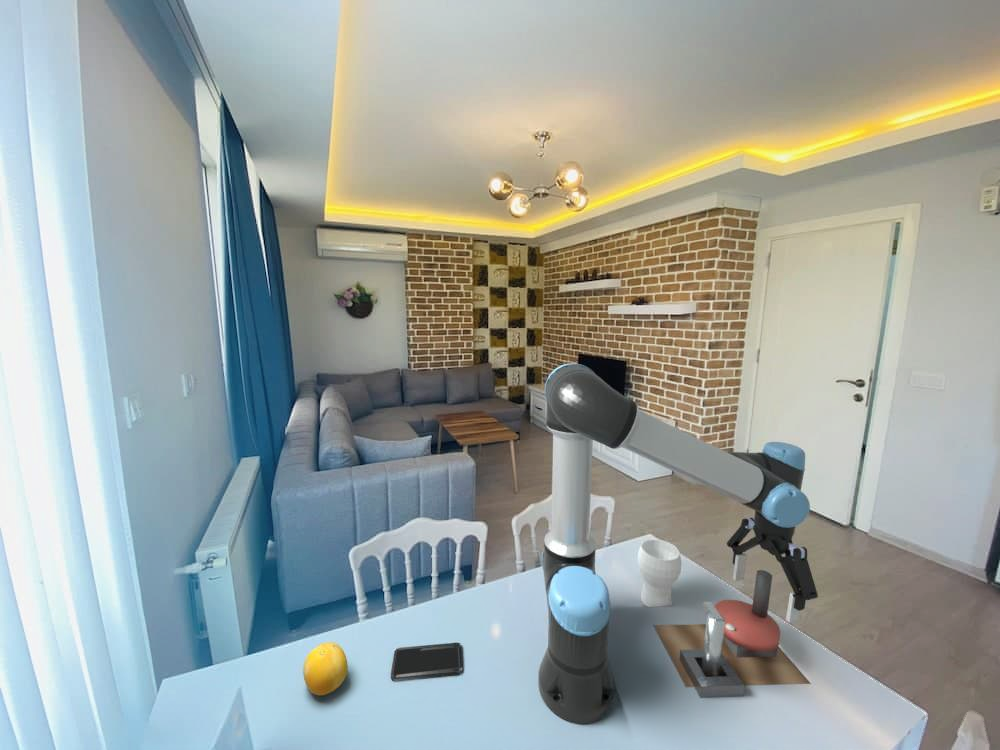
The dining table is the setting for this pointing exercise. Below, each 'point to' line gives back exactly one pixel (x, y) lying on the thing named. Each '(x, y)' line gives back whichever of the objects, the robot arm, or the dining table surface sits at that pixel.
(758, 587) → the handwheel
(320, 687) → the fruit
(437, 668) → the phone
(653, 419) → the robot arm
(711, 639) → the hook peg
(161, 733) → the dining table surface
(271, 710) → the dining table surface
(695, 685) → the eye
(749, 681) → the board
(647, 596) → the cup
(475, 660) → the dining table surface
